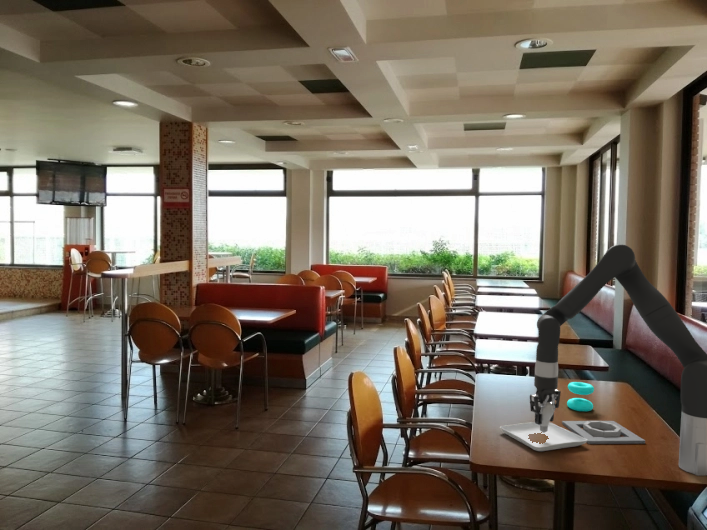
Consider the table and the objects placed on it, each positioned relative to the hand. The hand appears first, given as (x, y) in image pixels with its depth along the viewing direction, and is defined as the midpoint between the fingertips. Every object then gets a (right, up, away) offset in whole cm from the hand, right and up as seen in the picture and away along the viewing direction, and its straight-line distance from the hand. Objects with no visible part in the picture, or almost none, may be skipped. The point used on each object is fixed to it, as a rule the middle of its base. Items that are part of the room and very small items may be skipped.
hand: (544, 422), depth 191 cm
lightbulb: (0, -4, 0) cm, 4 cm away
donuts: (+27, -5, +37) cm, 46 cm away
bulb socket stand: (+23, -6, +8) cm, 25 cm away
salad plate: (-1, -7, +1) cm, 7 cm away
